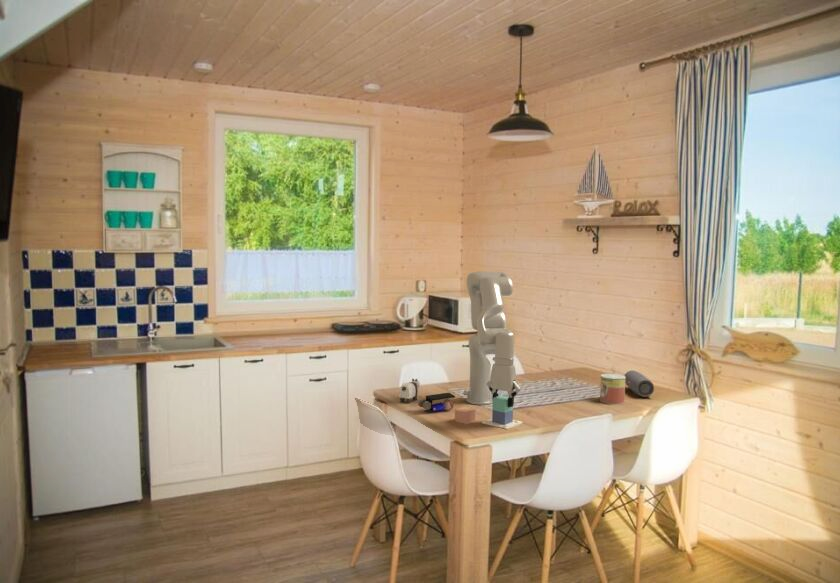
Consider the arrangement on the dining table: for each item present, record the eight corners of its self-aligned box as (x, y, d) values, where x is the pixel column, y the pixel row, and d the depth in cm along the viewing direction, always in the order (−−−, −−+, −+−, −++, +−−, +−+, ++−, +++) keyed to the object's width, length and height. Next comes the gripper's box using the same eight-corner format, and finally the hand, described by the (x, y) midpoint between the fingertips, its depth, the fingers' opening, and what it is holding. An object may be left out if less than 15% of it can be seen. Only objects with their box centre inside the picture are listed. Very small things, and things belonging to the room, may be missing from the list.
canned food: (594, 399, 311) (595, 374, 310) (615, 397, 315) (616, 373, 314) (608, 405, 301) (609, 379, 300) (629, 403, 304) (630, 378, 303)
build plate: (481, 423, 267) (482, 410, 266) (498, 417, 276) (498, 404, 276) (507, 429, 259) (507, 415, 259) (522, 422, 268) (523, 409, 268)
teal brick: (492, 409, 267) (492, 397, 266) (500, 407, 271) (501, 395, 271) (504, 412, 263) (505, 400, 263) (512, 409, 268) (513, 397, 267)
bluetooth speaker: (622, 388, 336) (622, 369, 335) (640, 388, 336) (641, 369, 335) (635, 399, 313) (635, 378, 312) (654, 399, 313) (655, 379, 312)
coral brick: (454, 421, 269) (455, 409, 269) (463, 418, 274) (463, 406, 274) (466, 424, 266) (466, 412, 265) (475, 421, 270) (475, 409, 270)
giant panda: (408, 404, 296) (408, 383, 295) (397, 402, 298) (398, 382, 297) (423, 397, 308) (423, 377, 308) (413, 396, 311) (413, 376, 310)
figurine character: (425, 418, 279) (456, 411, 285) (423, 400, 278) (455, 394, 284) (418, 414, 285) (449, 407, 291) (417, 397, 284) (448, 390, 290)
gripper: (481, 360, 268) (480, 403, 270) (517, 366, 257) (516, 410, 259) (491, 357, 274) (490, 399, 276) (527, 363, 263) (526, 407, 265)
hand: (502, 404), depth 267 cm, fingers open, 6 cm apart
